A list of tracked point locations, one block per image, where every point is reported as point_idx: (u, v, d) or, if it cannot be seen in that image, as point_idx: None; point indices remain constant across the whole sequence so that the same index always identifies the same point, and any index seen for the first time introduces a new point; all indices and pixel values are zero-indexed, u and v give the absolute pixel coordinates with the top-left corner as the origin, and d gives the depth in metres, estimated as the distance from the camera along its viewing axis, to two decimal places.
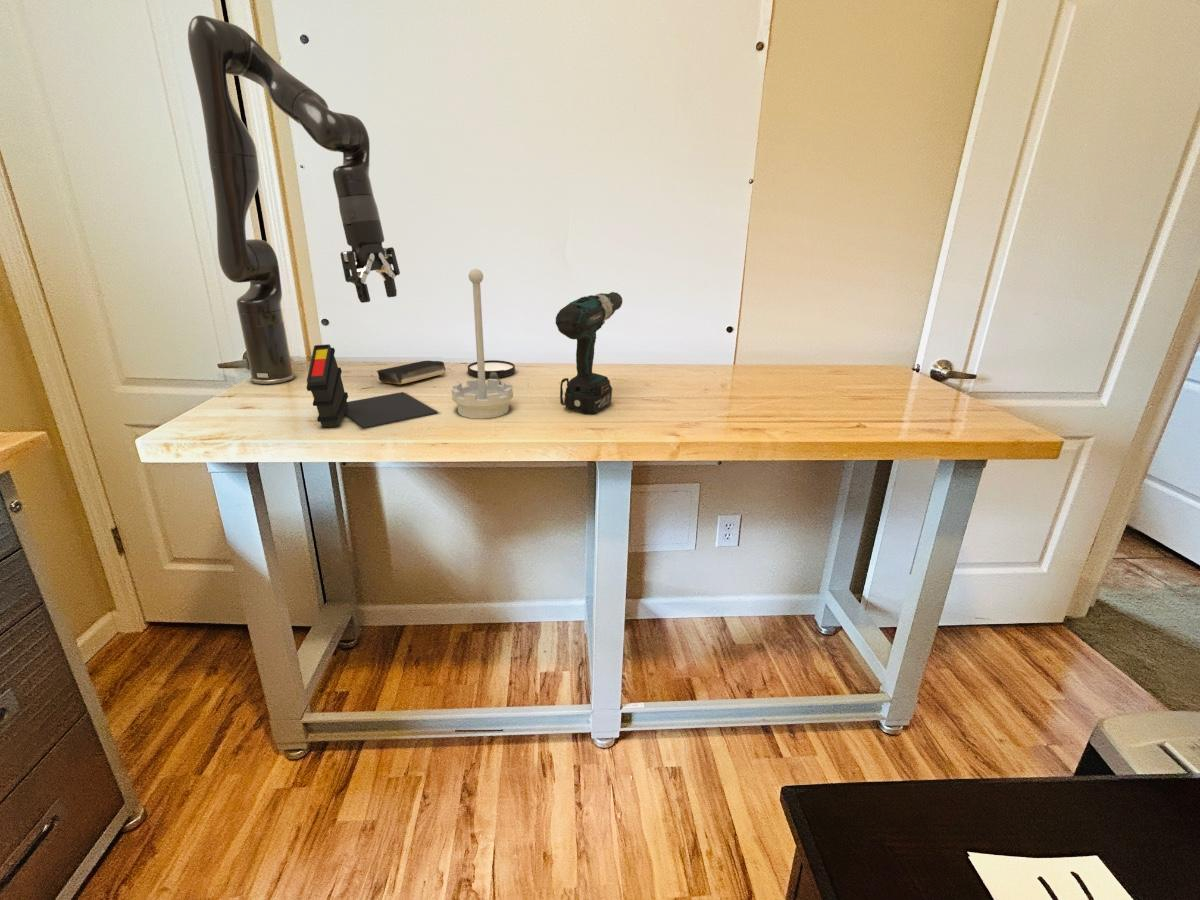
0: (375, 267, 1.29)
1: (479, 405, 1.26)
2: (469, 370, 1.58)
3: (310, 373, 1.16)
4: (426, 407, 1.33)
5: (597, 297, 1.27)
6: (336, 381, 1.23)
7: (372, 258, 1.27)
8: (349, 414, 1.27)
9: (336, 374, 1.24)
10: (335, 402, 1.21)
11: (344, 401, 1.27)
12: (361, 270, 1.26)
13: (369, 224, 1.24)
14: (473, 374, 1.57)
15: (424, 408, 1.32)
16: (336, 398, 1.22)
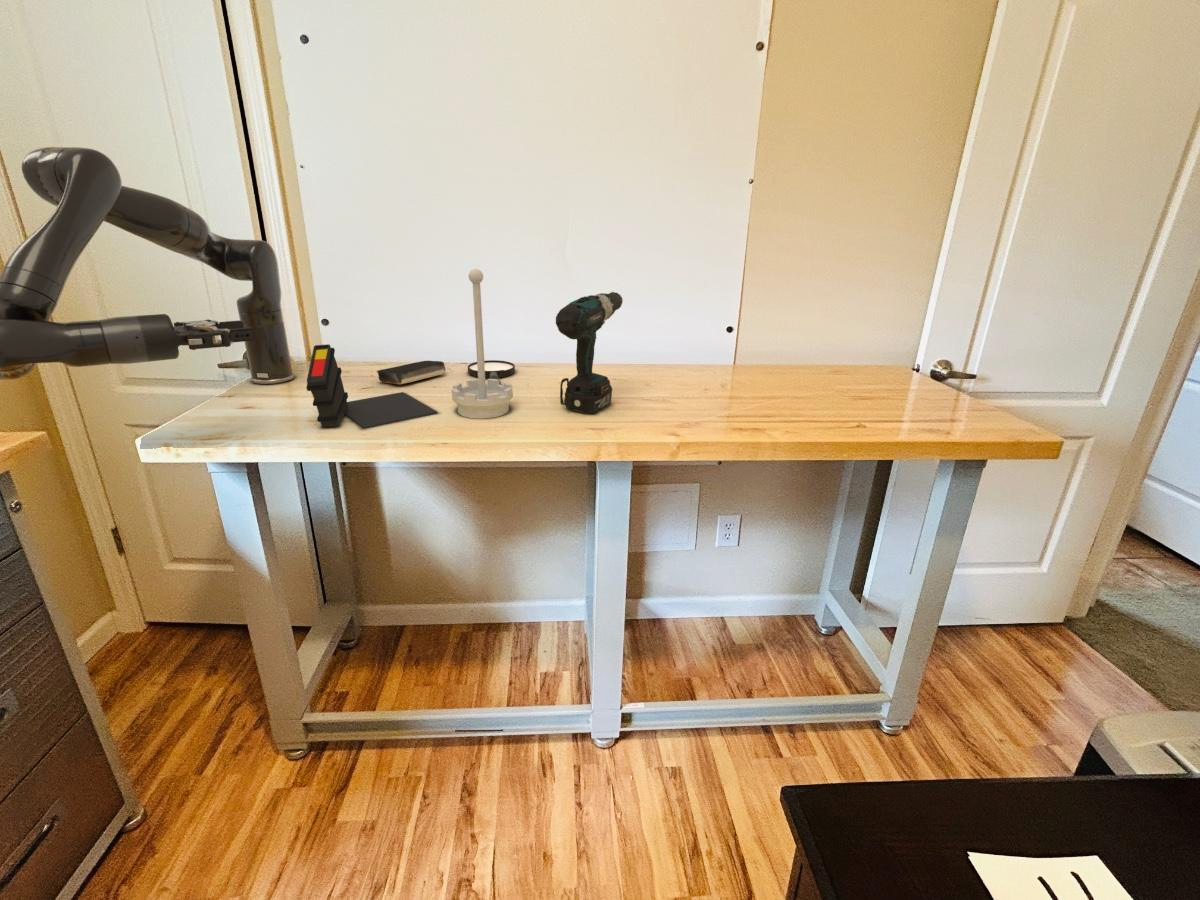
0: None
1: (479, 405, 1.26)
2: (469, 370, 1.58)
3: (310, 373, 1.16)
4: (426, 407, 1.33)
5: (597, 297, 1.27)
6: (336, 381, 1.23)
7: None
8: (349, 414, 1.27)
9: (336, 374, 1.24)
10: (335, 402, 1.21)
11: (344, 401, 1.27)
12: None
13: None
14: (473, 374, 1.57)
15: (424, 408, 1.32)
16: (336, 398, 1.22)
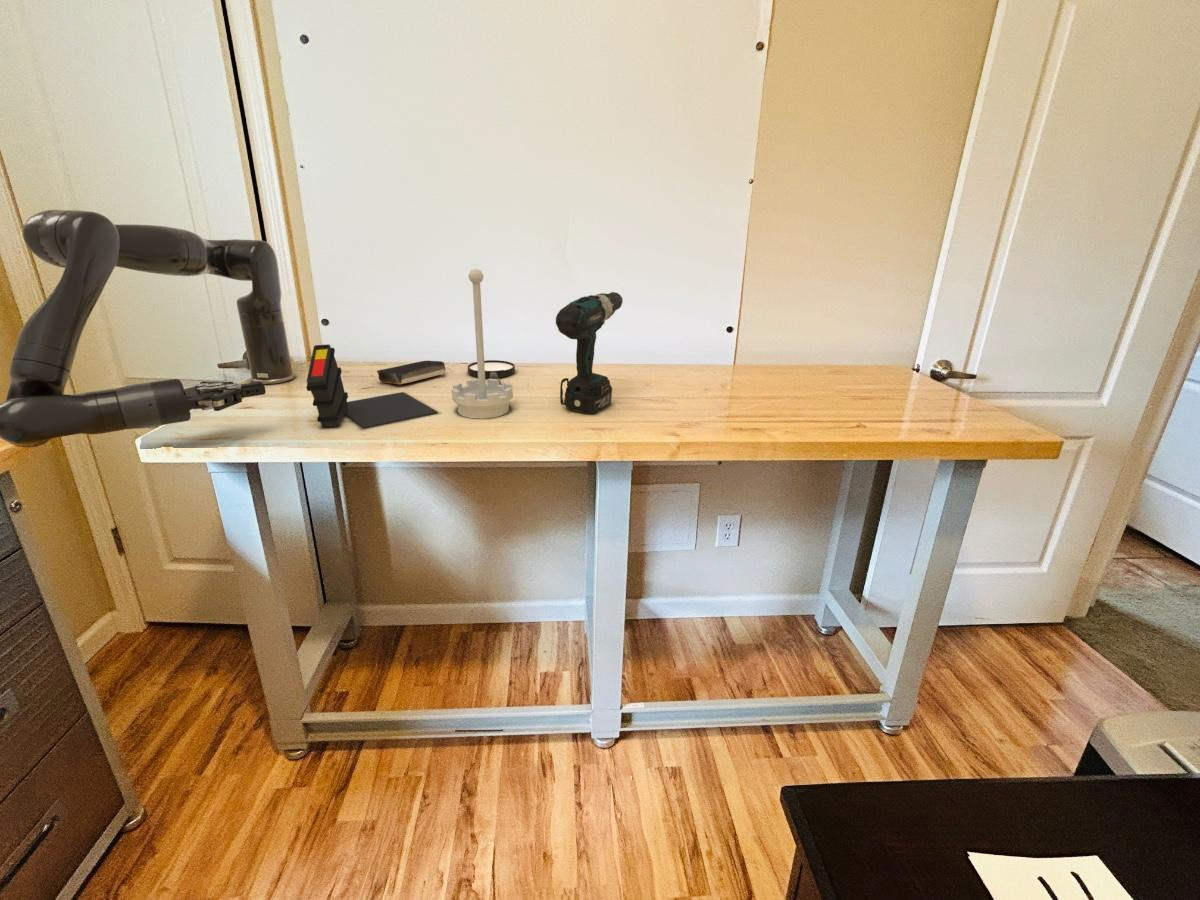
0: None
1: (479, 405, 1.26)
2: (469, 370, 1.58)
3: (310, 373, 1.16)
4: (426, 407, 1.33)
5: (597, 297, 1.27)
6: (336, 381, 1.23)
7: None
8: (349, 414, 1.27)
9: (336, 374, 1.24)
10: (335, 402, 1.21)
11: (344, 401, 1.27)
12: None
13: None
14: (473, 374, 1.57)
15: (424, 408, 1.32)
16: (336, 398, 1.22)
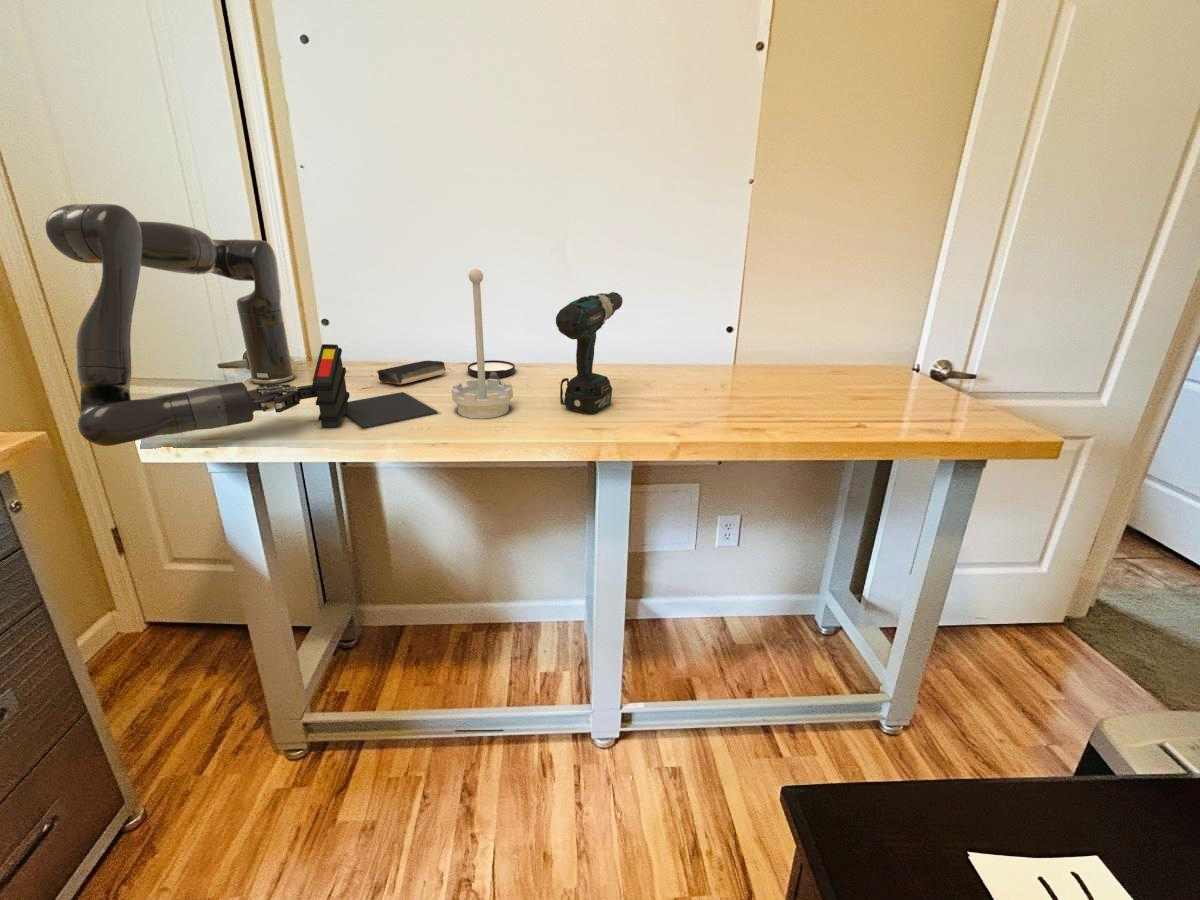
0: None
1: (479, 405, 1.26)
2: (469, 370, 1.58)
3: (316, 373, 1.16)
4: (426, 407, 1.33)
5: (597, 297, 1.27)
6: (340, 381, 1.23)
7: None
8: (349, 414, 1.27)
9: (341, 374, 1.24)
10: (337, 403, 1.21)
11: (345, 401, 1.27)
12: None
13: None
14: (473, 374, 1.57)
15: (424, 408, 1.32)
16: (339, 399, 1.22)
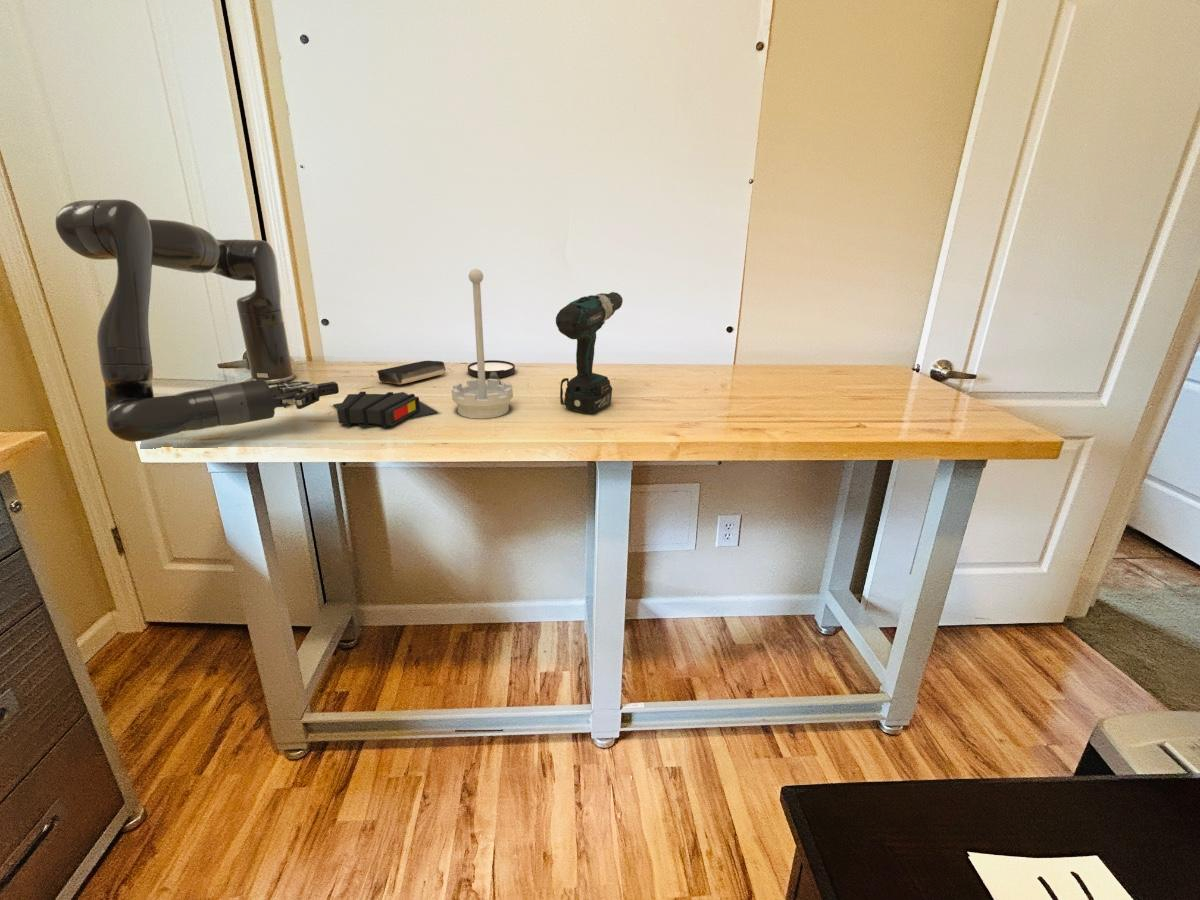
0: None
1: (479, 405, 1.26)
2: (469, 370, 1.58)
3: None
4: (426, 407, 1.33)
5: (597, 297, 1.27)
6: None
7: None
8: None
9: None
10: None
11: None
12: None
13: None
14: (473, 374, 1.57)
15: (424, 408, 1.32)
16: None
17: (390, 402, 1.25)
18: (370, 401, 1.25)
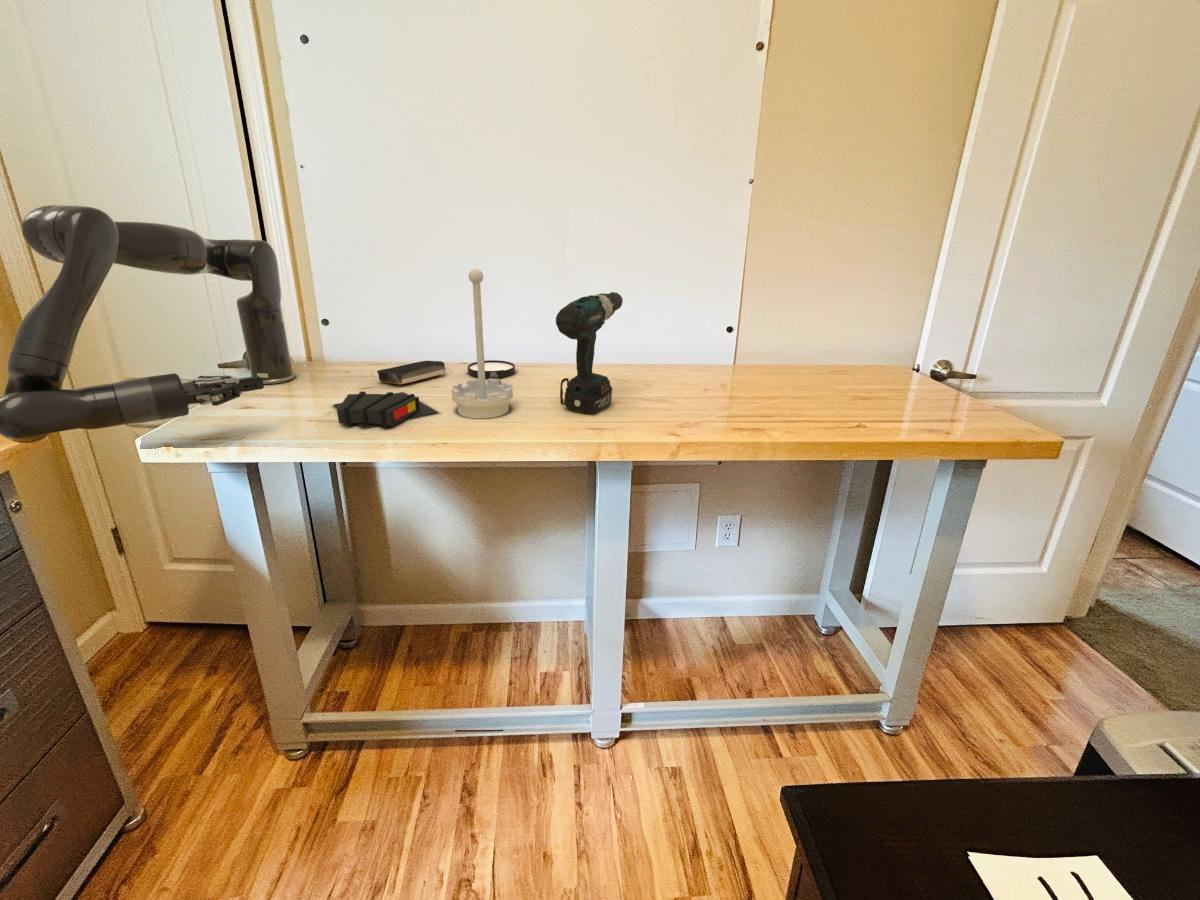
0: None
1: (479, 405, 1.26)
2: (469, 370, 1.58)
3: None
4: (426, 407, 1.33)
5: (597, 297, 1.27)
6: None
7: None
8: None
9: None
10: None
11: None
12: None
13: None
14: (473, 374, 1.57)
15: (424, 408, 1.32)
16: None
17: (390, 402, 1.25)
18: (370, 401, 1.25)
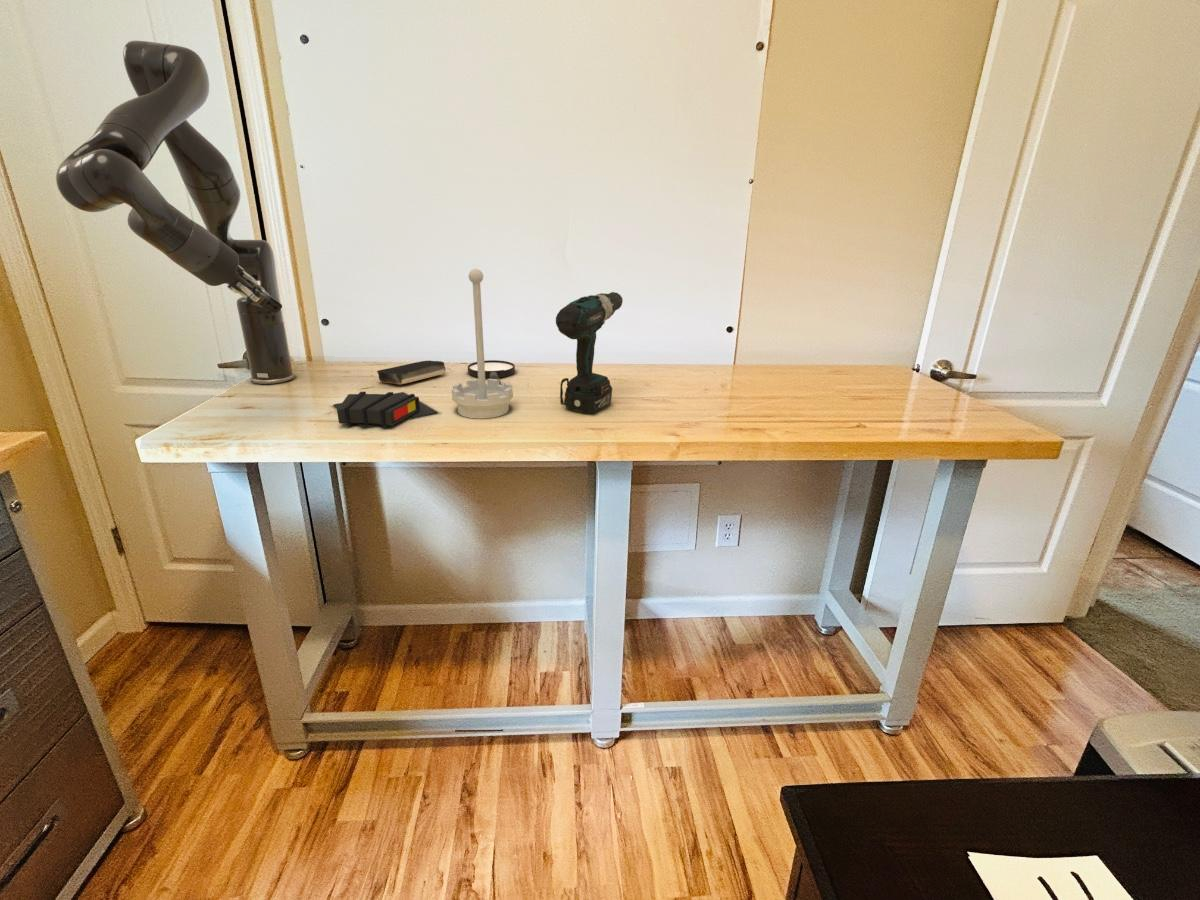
0: None
1: (479, 405, 1.26)
2: (469, 370, 1.58)
3: None
4: (426, 407, 1.33)
5: (597, 297, 1.27)
6: None
7: None
8: None
9: None
10: None
11: None
12: None
13: None
14: (473, 374, 1.57)
15: (424, 408, 1.32)
16: None
17: (390, 402, 1.25)
18: (370, 401, 1.25)
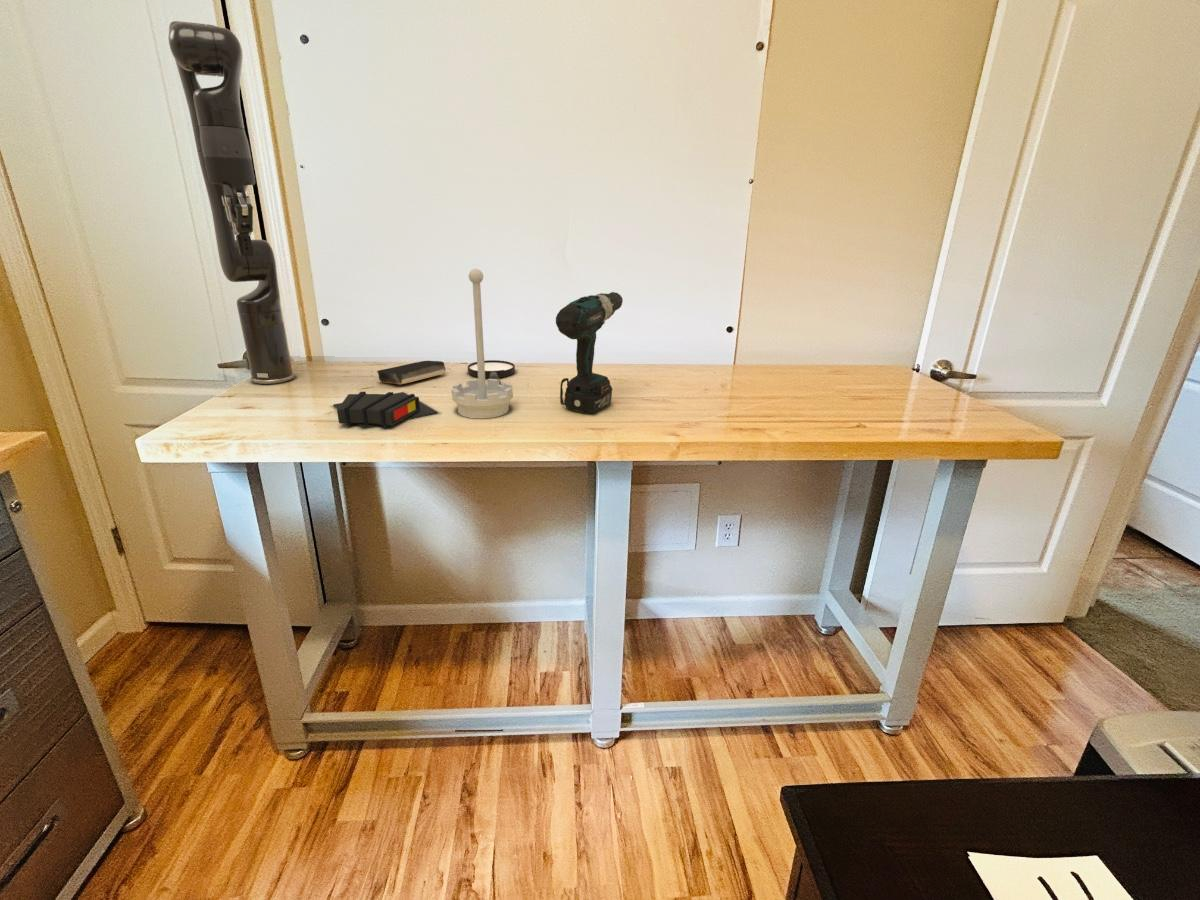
0: None
1: (479, 405, 1.26)
2: (469, 370, 1.58)
3: None
4: (426, 407, 1.33)
5: (597, 297, 1.27)
6: None
7: (223, 201, 1.12)
8: None
9: None
10: None
11: None
12: None
13: None
14: (473, 374, 1.57)
15: (424, 408, 1.32)
16: None
17: (390, 402, 1.25)
18: (370, 401, 1.25)
